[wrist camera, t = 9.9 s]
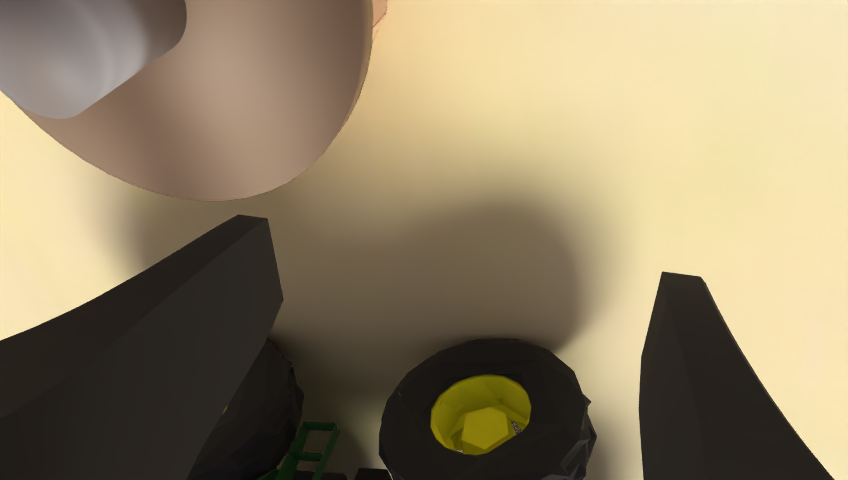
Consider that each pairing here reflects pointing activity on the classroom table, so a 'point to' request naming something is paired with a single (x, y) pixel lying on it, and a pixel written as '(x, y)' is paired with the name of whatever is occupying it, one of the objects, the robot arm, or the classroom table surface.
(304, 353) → the classroom table surface
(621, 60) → the classroom table surface
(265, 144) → the lid
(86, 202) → the classroom table surface
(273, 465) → the toy tractor
